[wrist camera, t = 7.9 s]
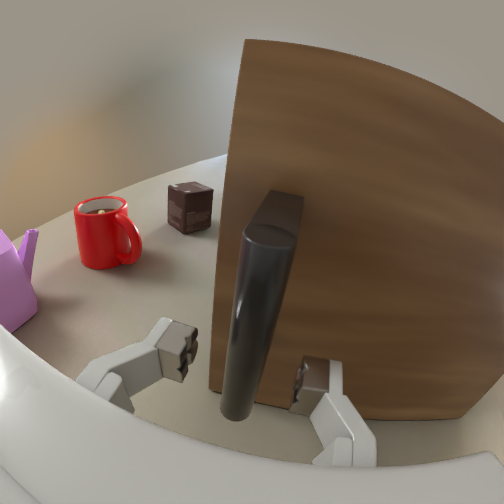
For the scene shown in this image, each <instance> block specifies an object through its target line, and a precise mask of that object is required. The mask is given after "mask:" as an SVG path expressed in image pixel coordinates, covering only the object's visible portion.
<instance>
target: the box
mask: <svg viewBox="0 0 504 504" xmlns="http://www.w3.org/2000/svg"><path fill="white" fill-rule="evenodd" d="M213 191H214V190H213V189H211V188H209V187H207V186H204V185H202V184H200V183H197V182H188V183H181V184H174V185H169V186H168V223H169V224H171V225H172V226H174V227H175V228H176V229H178V230H179V231H181V232H182V233H183V234H186V233H190V232H193V231H197V230H201V229H206V228H209V227H211V214H212V201H213Z"/></svg>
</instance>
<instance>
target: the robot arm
mask: <svg viewBox="0 0 504 504" xmlns="http://www.w3.org/2000/svg"><path fill="white" fill-rule="evenodd" d="M197 336H198V329H197V328H195V327H192V326H189V325H186V324H183V323H180V322H177V321H174V320H171V319H168V318H165V317H162V318H160V319H159V320H158V322H157V323H156V324H155V326H154V327H153V328H152V330H151V331H150V332H149V334H148V335H147V337H146V338H145V339H144V341H143V342H140V341H139V342H136V343H134V344H131V345H129V346H126V347H124V348H121V349H119V350H116V351H114V352H111V353H108V354H106V355H103V356H101V357H98V358H95V359H93V360H91V361H90V362H89V364H88V365H87V366H86V367H85V369H84V370H83V371H82V372H81V374H80V375H79V376H78V377H77V379H76V380H75V381H73V380H71V379H70V378H68V377H67V376H65V375H64V374H62V373H61V372H59V371H58V370H56V369H55V368H54V367H52V366H51V365H49V364H48V363H47V362H45V361H44V360H43V359H41V358H40V357H39V356H37V355H36V354H35V353H33V352H32V351H31V350H30V349H28V348H27V347H26V346H25V345H24V344H22V343H21V342H20V341H19V340H18V339H16V338H15V337H14V336H13V335H12V334H11V333H10V332H8V331H7V330H6V329H5V328H4V327H3V326H2V325H1V324H0V504H504V465H503V464H502V463H501V462H500V460H499V459H498V458H497V457H496V456H495V455H494V454H493V453H492V452H491V451H483V452H479V453H475V454H471V455H467V456H463V457H458V458H453V459H448V460H443V461H437V462H430V463H423V464H414V465H403V466H388V467H377V445H376V437H375V436H374V434H373V433H372V431H371V430H370V428H369V427H368V426H367V424H366V423H365V421H364V420H363V418H362V417H361V416H360V414H359V413H358V411H357V410H356V408H355V407H354V406H353V404H352V403H351V401H350V400H349V398H348V397H347V396H346V395H343V371H342V362H341V361H335V360H328V359H324V358H318V357H313V356H307V355H304V356H303V358H302V360H301V365H300V367H299V368H298V369H297V372H296V375H295V378H294V382H293V388H292V390H293V392H294V393H293V395H292V397H291V400H290V407H289V412H291V413H296V414H301V415H307V416H309V418H310V420H311V422H312V424H313V426H314V429H315V431H316V433H317V435H318V437H319V439H320V441H321V443H322V445H323V448H324V450H323V451H322V452H321V453H320V454H319V455H318V456H317V457H315V458H314V459H313V460H312V464H305V463H297V462H289V461H283V460H277V459H271V458H266V457H261V456H256V455H252V454H247V453H243V452H239V451H235V450H231V449H227V448H223V447H220V446H216V445H213V444H210V443H206V442H203V441H200V440H197V439H194V438H191V437H188V436H185V435H183V434H180V433H177V432H175V431H172V430H169V429H167V428H164V427H162V426H159V425H157V424H155V423H152V422H150V421H148V420H145V419H143V418H141V417H139V416H137V415H134V414H133V413H134V411H135V409H134V407H133V404H132V402H131V400H130V398H129V397H131V396H133V395H135V394H136V393H138V392H140V391H141V390H143V389H145V388H147V387H148V386H150V385H152V384H153V383H155V382H157V381H158V380H160V379H162V378H163V377H165V378H168V379H171V380H173V381H176V382H179V383H182V382H183V380H184V378H185V377H186V375H187V373H188V365H190V364H192V363H193V361H194V359H195V356H196V353H197V348H198V342H197V341H196V337H197Z"/></svg>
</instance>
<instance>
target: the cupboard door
mask: <svg viewBox="0 0 504 504" xmlns="http://www.w3.org/2000/svg"><path fill="white" fill-rule="evenodd" d="M304 355H307V356H313V357H318V358H324V359H328V360H335V361H341V362H342V371H343V395H346V396H347V397H348V398H349V400H350V401H351V403H352V404H353V406H354V407H355V408H356V410H357V411H358V413H359V414H360V416H361V417H362V418H364V419H381V420H432V419H449V418H460V417H462V416H463V415H464V414H465V413H466V412H468V411H469V410H470V409H471V408H472V407H473V406H474V405H475V404H476V403H477V402H478V401H479V400H480V399H481V398H482V397H483V396H484V395H485V394H486V393H487V392H488V391H489V389H490V388H491V387H492V386H493V385H494V384H495V383H496V382H497V381H498V379H499V378H500V377H501V376H502V375H503V374H504V123H503V122H502V121H500V120H499V119H497V118H496V117H494V116H492V115H491V114H489V113H488V112H486V111H484V110H483V109H481V108H480V107H478V106H476V105H475V104H473V103H471V102H469V101H468V100H466V99H464V98H462V97H460V96H458V95H456V94H454V93H453V92H451V91H448V90H447V89H444V88H442V87H440V86H438V85H436V84H434V83H432V82H429V81H427V80H425V79H422V78H420V77H418V76H415V75H412V74H410V73H408V72H405V71H402V70H400V69H397V68H394V67H391V66H388V65H385V64H382V63H379V62H376V61H373V60H369V59H366V58H362V57H358V56H355V55H351V54H347V53H343V52H339V51H334V50H330V49H325V48H319V47H314V46H308V45H302V44H295V43H288V42H279V41H269V40H256V39H245V41H244V46H243V52H242V58H241V64H240V70H239V76H238V84H237V90H236V96H235V103H234V110H233V118H232V125H231V132H230V140H229V148H228V156H227V164H226V172H225V181H224V190H223V199H222V209H221V218H220V229H219V239H218V250H217V262H216V274H215V286H214V300H213V314H212V330H211V347H210V367H209V389H211V390H214V391H217V392H221V393H222V398H221V407H220V409H221V413H222V414H223V416H224V417H225V418H227V419H229V420H231V421H242V420H245V419H246V418H247V417H248V416H249V415H250V413H251V410H252V406H253V403H254V401H255V402H259V403H263V404H268V405H272V406H277V407H282V408H287V409H289V407H290V400H291V397H292V395H293V393H294V392H293V390H292V388H293V382H294V378H295V375H296V372H297V369H298V368H299V367H300V365H301V360H302V358H303V356H304Z"/></svg>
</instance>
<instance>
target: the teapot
mask: <svg viewBox="0 0 504 504" xmlns="http://www.w3.org/2000/svg"><path fill="white" fill-rule="evenodd" d="M37 237H38V230H36V229H31V230H27V231H26V234H25V236H24V238H23V241H22V243H21V246H20V248H19V251H18V253H17V251H16V249H15V247H14V245H13V244H12V242H11V241H10V240H9V239H8V237H7V236H6V235H5V234H4V232H2V230H0V324H1V325H2V326H3V327H4V328H5V329H6V330H7V331H8V332H10V333H12V332H13V331H15V330H16V329H17V328H19V327H20V326H21V325H22V324H24V323H25V322H26V321H28V320H29V319H30V318H31V317H32V316H34V315H35V314H36V313H37V311H38V305H37V298H36V295H35V293H34V290H33V287H32V285H31V273H32V266H33V259H34V253H35V248H36V242H37Z"/></svg>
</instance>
